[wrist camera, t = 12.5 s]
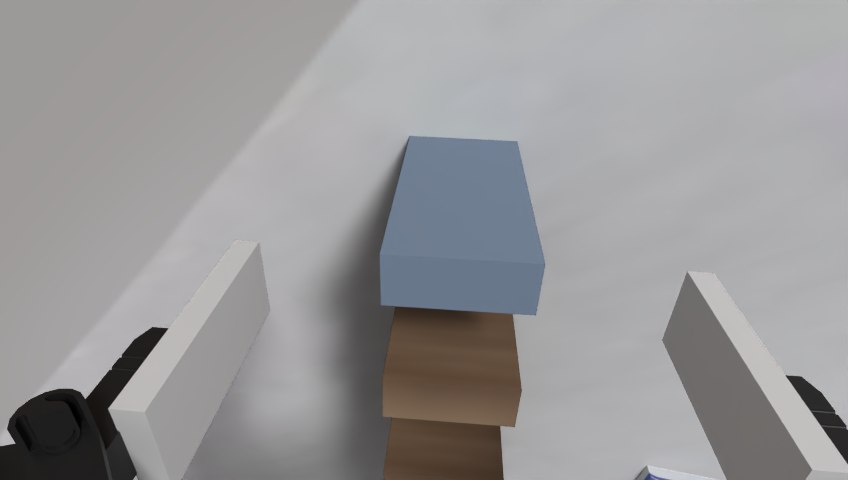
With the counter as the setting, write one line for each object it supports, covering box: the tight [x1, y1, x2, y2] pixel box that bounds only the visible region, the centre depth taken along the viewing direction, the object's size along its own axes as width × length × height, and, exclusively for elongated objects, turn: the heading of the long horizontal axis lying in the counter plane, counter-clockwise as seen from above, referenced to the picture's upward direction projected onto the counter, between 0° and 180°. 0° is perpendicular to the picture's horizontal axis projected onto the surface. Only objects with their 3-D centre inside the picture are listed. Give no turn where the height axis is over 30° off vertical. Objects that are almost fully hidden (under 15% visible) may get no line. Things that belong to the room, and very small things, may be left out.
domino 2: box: [384, 417, 504, 480], centre depth 26 cm, size 2×5×10 cm, turn 88°
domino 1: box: [382, 306, 522, 427], centre depth 23 cm, size 2×5×10 cm, turn 88°
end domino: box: [380, 136, 545, 315], centre depth 20 cm, size 2×5×10 cm, turn 88°
